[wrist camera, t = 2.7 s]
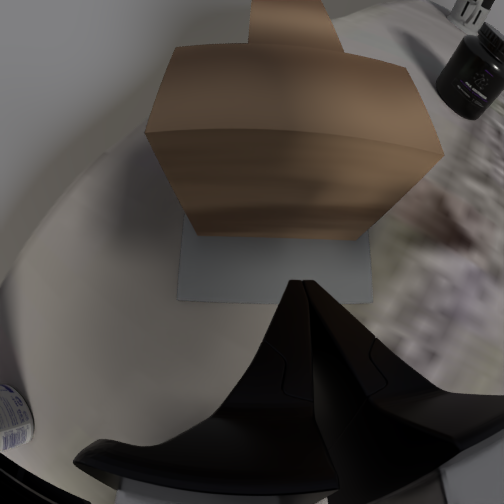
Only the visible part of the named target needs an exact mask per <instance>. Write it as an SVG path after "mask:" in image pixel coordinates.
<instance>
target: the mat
mask: <svg viewBox="0 0 504 504" xmlns="http://www.w3.org/2000/svg"><path fill="white" fill-rule="evenodd" d="M289 280H301V281H302V280H315V281H316V282H317V283H318V284H319V285H320V286H321V287H323V288H324V289H325V290H326V291H327V292H328V293H329V294H330V295H331V296H332V297H333V298H335V299H336V300H337V301H338V302H339V303H340V304H358V303H373V291H372V272H371V257H370V246H369V235H368V230H367V231H366V232H365V233H363V234H362V235H361V236H360V237H359V238H358V239H357V240H356V241H352V240H326V239H298V238H265V237H227V236H197V234H196V232H195V230H194V228H193V226H192V224H191V223H190V221H189V219H188V217H187V215H186V213H185V214H184V223H183V232H182V242H181V252H180V263H179V276H178V289H177V300H183V301H201V302H223V303H253V304H279V302H280V300H281V298H282V295H283V293H284V291H285V288H286V286H287V284H288V281H289Z"/></svg>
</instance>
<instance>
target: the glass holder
mask: <svg viewBox="0 0 504 504" xmlns="http://www.w3.org/2000/svg"><path fill="white" fill-rule="evenodd" d="M494 1H495V0H457V1H456V3H455V5H454V7H453V9H452V11H451V13H450V15H448V16H447V19H448V20H449V21H450V22H452V23H453V24H454V25H455V26H456V27H458V28H459V29H461V30H462V31H463V32H465V33H466V34H468V35H474V36H477V33H478V30H479V29H480V28H481V26H482V24H483V22H484V20H485V19H486V17H487V15H488V13H489V12H490V10H491V9H490V8H491V6H492V4H493V3H494Z"/></svg>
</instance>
